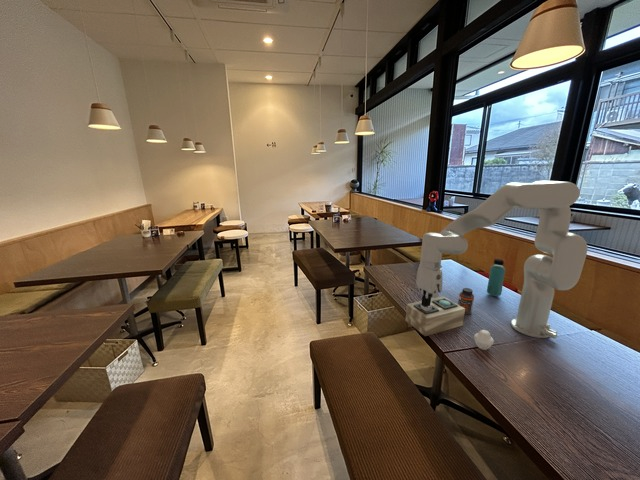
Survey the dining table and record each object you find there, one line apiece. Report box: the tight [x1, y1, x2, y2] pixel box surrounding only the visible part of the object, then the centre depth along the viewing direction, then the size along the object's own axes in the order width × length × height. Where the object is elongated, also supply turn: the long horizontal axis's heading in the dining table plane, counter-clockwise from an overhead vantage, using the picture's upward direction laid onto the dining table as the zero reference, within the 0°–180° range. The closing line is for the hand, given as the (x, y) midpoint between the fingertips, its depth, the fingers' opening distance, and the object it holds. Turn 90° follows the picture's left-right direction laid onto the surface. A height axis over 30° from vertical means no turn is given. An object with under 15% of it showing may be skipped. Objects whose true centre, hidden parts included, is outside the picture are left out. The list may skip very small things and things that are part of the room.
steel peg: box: [420, 303, 432, 311], centre depth 108 cm, size 4×4×8 cm
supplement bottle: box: [457, 287, 475, 315], centre depth 118 cm, size 6×6×11 cm
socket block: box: [405, 295, 466, 337], centre depth 110 cm, size 12×20×9 cm, turn 110°
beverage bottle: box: [486, 258, 506, 297], centre depth 132 cm, size 6×7×20 cm
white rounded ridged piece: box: [473, 329, 495, 351], centre depth 95 cm, size 6×6×7 cm
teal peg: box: [439, 300, 450, 307], centre depth 112 cm, size 4×4×8 cm
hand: (425, 305), depth 107 cm, fingers closed
